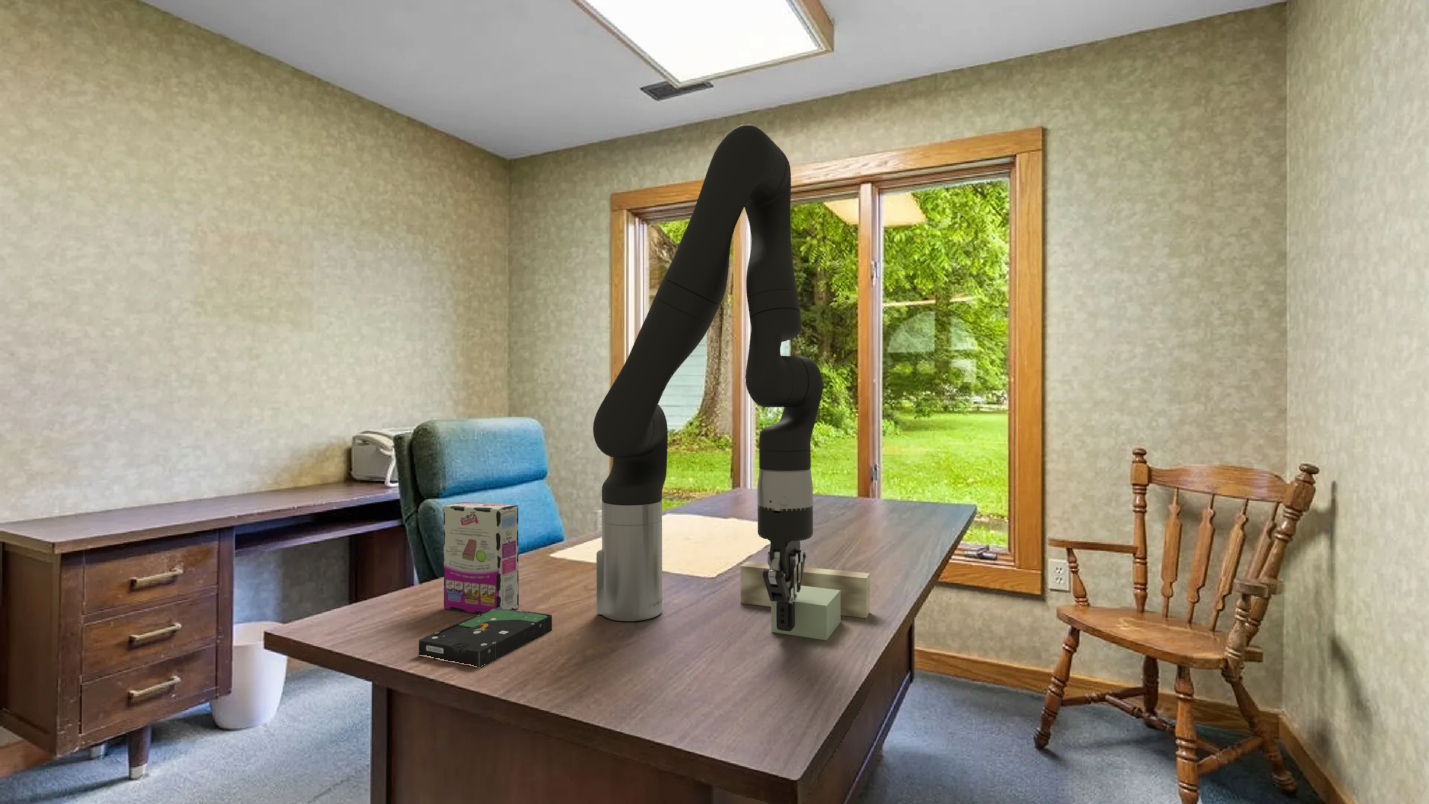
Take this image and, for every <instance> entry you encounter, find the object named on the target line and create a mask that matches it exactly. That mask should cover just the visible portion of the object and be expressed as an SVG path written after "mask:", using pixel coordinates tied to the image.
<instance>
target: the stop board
mask: <svg viewBox="0 0 1429 804" xmlns="http://www.w3.org/2000/svg"><path fill="white" fill-rule="evenodd" d="M764 569H768V570H770V567H769V565H768V563H765V562H755V561H745V562H744V563H743V564H741V565H740V604H745V605H746V604H747V605H755V606H763V607H770V608H771V601H770V598H769V595H768V592H767V588H766V585H765V582H764V579H763V570H764ZM870 575H871V574H870V573H869V572H858V571H850V570H849V571H848V570H838V569H828V568H817V567H809V566H808V567H807V566H806V567H805V566H804V570H803V576H802V582H801V586H809V587H818V588H826V589H835V590H841V616H846V617H854V618H863V619H867V618H868V616H869V615H870V612H871V611H870V603H871V601H870V599H871V597H870V596H871V595H870V592H871V590H870V586H871V584H870V581H871V580H870V578H871V577H870Z"/></svg>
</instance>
